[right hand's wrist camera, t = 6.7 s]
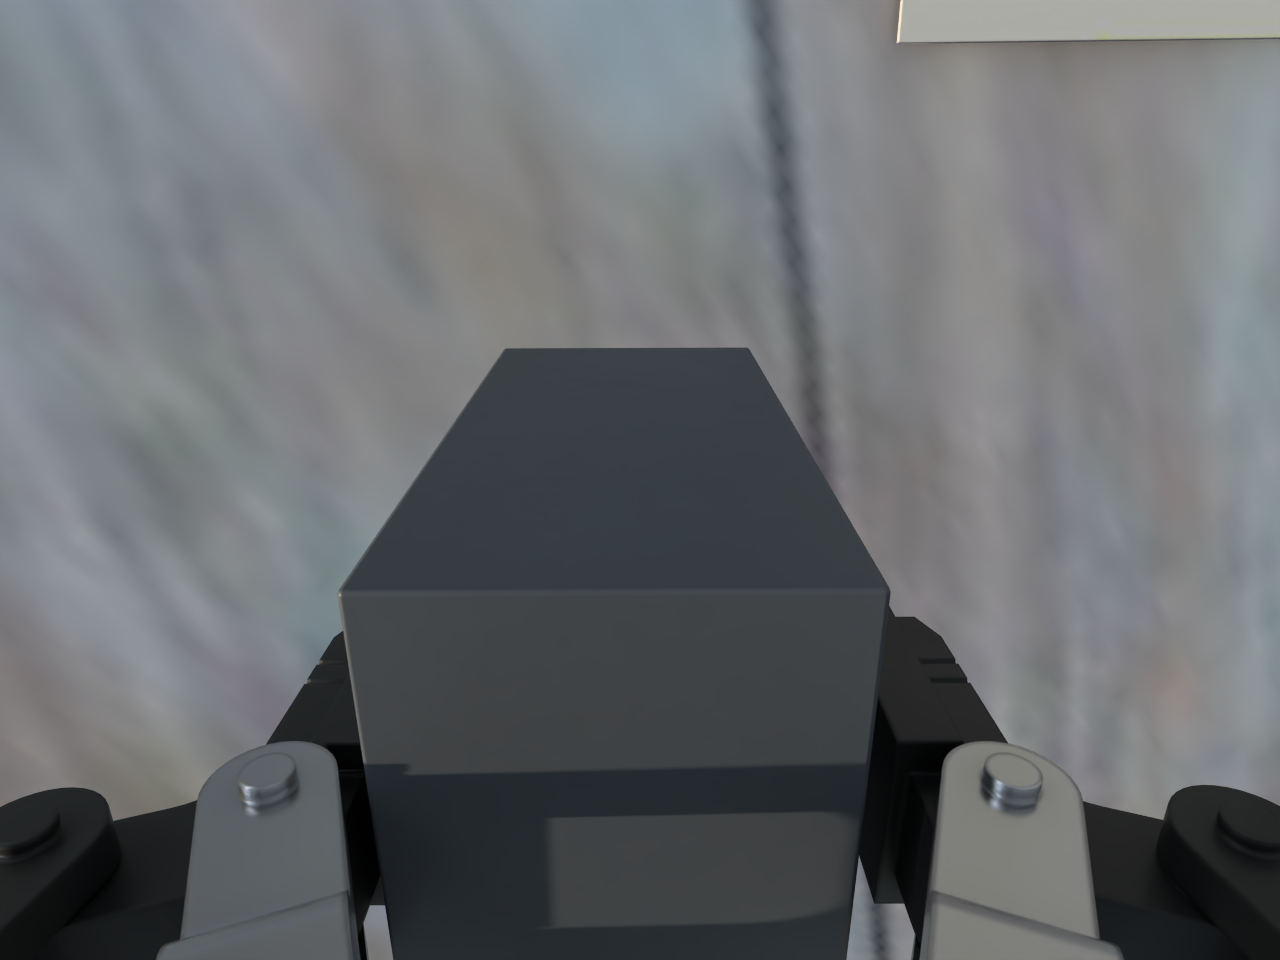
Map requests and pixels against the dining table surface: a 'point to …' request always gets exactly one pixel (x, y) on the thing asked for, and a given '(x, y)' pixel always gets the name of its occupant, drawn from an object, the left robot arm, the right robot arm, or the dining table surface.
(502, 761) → the bar
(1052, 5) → the invitation card
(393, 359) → the dining table surface
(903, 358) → the dining table surface
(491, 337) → the dining table surface
